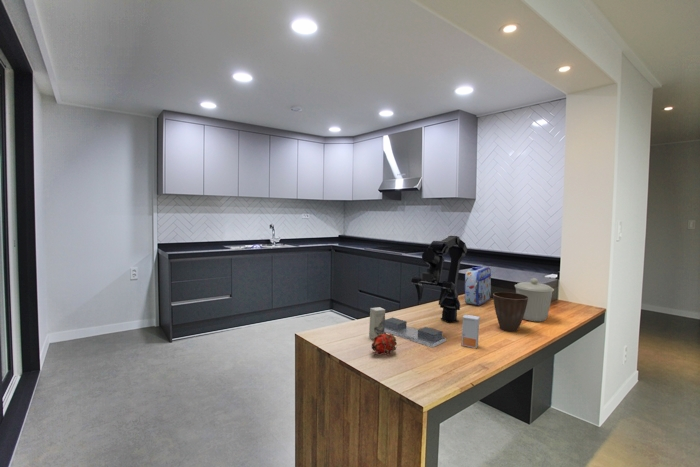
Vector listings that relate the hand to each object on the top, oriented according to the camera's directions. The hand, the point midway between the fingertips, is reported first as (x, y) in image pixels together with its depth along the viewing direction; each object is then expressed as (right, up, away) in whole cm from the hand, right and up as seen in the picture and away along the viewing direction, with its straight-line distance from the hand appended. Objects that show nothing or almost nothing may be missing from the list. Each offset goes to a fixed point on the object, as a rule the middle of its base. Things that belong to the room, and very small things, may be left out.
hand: (429, 303), depth 156 cm
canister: (+59, -14, +28) cm, 67 cm away
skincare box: (+14, -15, -11) cm, 23 cm away
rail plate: (-8, -14, -1) cm, 16 cm away
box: (-23, -14, -5) cm, 28 cm away
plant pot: (+39, -15, +11) cm, 44 cm away
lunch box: (+42, -11, +60) cm, 74 cm away
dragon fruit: (-22, -15, -21) cm, 34 cm away
